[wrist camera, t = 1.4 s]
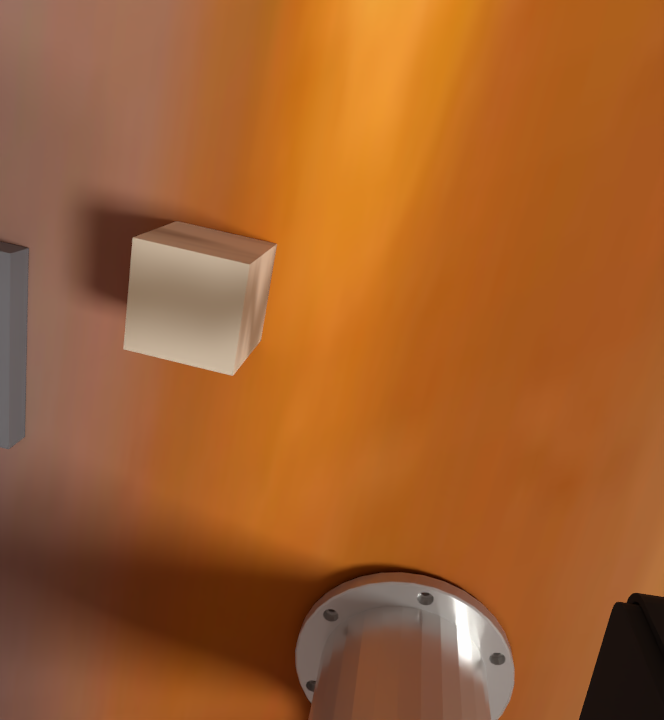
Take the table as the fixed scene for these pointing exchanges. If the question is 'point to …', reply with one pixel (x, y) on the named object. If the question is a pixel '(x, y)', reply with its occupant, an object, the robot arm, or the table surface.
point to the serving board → (13, 342)
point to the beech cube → (197, 295)
